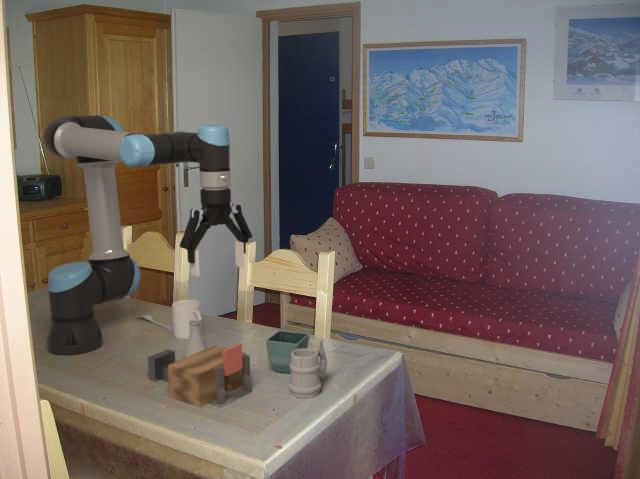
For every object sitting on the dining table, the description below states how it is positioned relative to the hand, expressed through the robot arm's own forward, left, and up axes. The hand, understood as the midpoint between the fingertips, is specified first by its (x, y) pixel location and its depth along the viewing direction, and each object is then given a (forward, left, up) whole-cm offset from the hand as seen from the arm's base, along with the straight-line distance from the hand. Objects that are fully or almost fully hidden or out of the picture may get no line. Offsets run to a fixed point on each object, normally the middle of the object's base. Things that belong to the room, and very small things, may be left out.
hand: (218, 270), depth 177 cm
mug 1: (-24, +13, -26) cm, 38 cm away
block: (+10, -13, -26) cm, 31 cm away
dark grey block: (-3, -13, -26) cm, 29 cm away
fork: (-42, +16, -26) cm, 52 cm away
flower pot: (+16, +8, -26) cm, 31 cm away
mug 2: (+28, +1, -26) cm, 38 cm away
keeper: (+16, -13, -19) cm, 28 cm away
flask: (-11, +2, -26) cm, 28 cm away
